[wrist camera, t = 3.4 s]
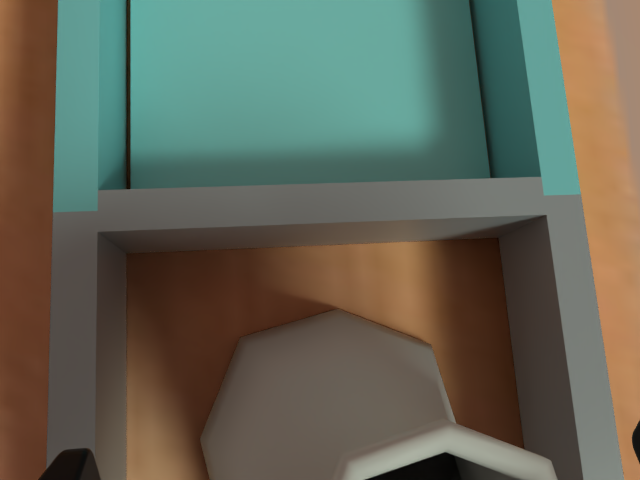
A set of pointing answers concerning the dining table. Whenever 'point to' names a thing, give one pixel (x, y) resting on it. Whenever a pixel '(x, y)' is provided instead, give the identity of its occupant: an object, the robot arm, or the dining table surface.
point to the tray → (321, 178)
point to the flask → (347, 411)
